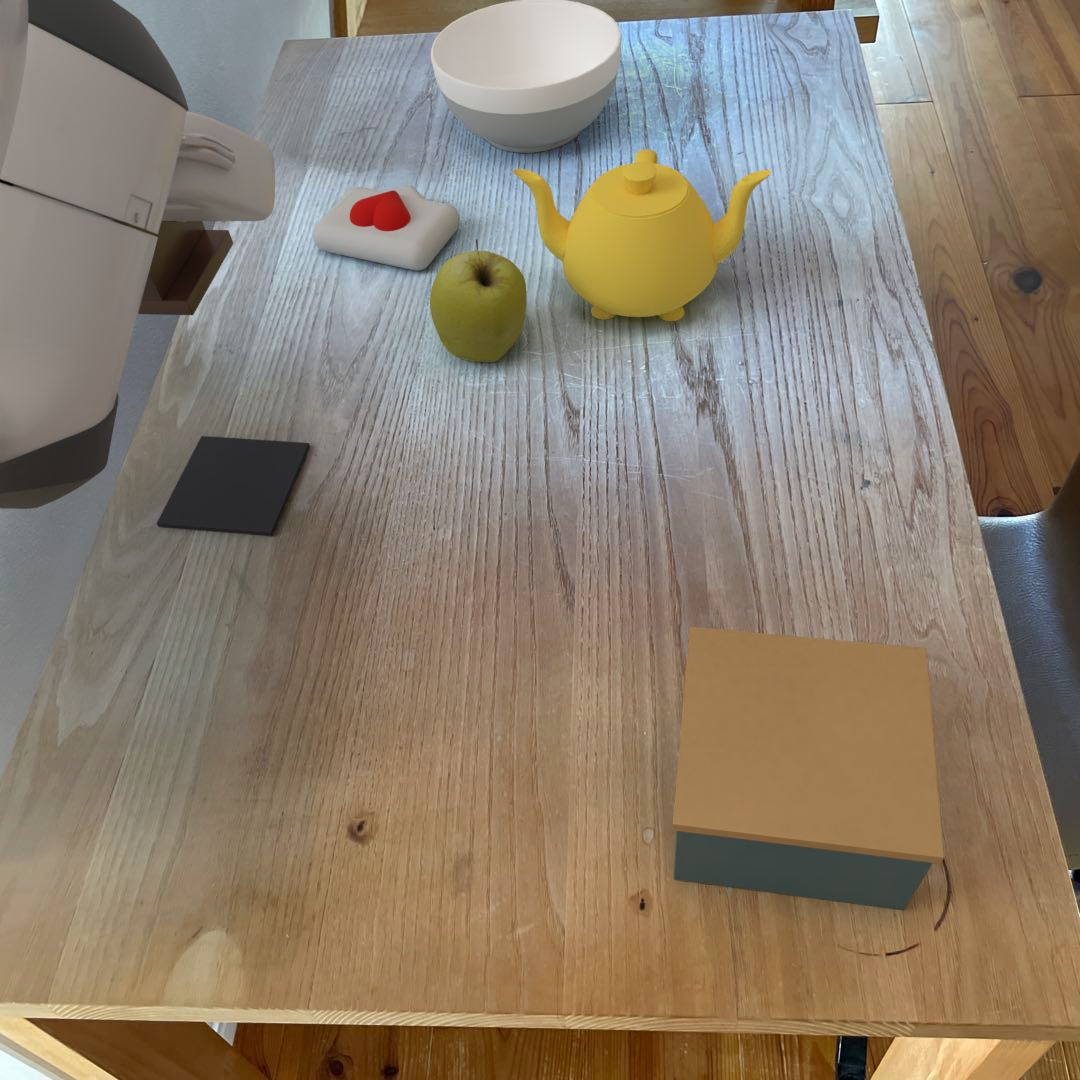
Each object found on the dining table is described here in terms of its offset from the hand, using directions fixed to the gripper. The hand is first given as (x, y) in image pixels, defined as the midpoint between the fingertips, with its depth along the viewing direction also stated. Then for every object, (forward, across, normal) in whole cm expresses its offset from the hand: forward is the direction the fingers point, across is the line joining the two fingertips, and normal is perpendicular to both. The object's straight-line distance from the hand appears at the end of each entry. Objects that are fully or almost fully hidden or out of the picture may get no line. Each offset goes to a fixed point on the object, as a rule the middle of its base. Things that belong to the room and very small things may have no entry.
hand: (149, 207), depth 56 cm
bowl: (+53, -12, -20) cm, 58 cm away
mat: (+16, +3, +17) cm, 24 cm away
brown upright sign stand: (+3, 0, +4) cm, 4 cm away
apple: (+28, -13, +5) cm, 32 cm away
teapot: (+35, -26, -1) cm, 43 cm away
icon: (+39, -2, -6) cm, 40 cm away
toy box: (+2, -38, +32) cm, 49 cm away
